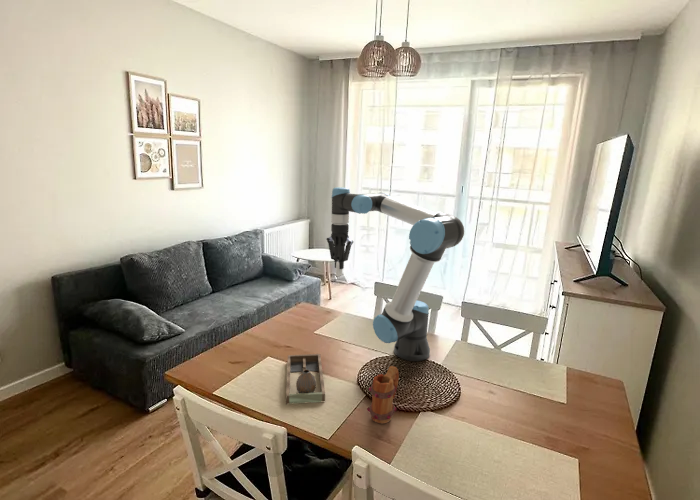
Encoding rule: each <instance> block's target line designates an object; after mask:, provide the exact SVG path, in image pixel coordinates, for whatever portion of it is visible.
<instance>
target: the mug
mask: <svg viewBox="0 0 700 500" xmlns="http://www.w3.org/2000/svg"><path fill="white" fill-rule="evenodd" d="M399 377H400V373H399V369H398V367H396V366H393V365H390V366H389V367H388V369H387V372H386V373H385V374H383V373H379V374H377V375H375V376H374V377H373V379H372V384H371V386H370V387H368V390H369V392H370V393H371V397H372V398H371V401H372V402H371V404H370V405H369V406H368V407H367V408H366V411H367V412H369V413H370V416H371V419H372V421H373V422H375V423H378V424H386V423H389V422H390V421H391V419H393V416H394V415H395V412H396V411H397V407H395V405H394V403H393V402H394V399H395V397H396V393H397V389H398V385H399V380H400V378H399Z"/></svg>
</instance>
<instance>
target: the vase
mask: <svg viewBox="0 0 700 500" xmlns="http://www.w3.org/2000/svg"><path fill="white" fill-rule="evenodd" d="M315 377H316V376H314V375H313V373H311V371H309V370H307V369H306V370H303V372H300V374H299V376H298V377H297V378H296V379H297V380H296V383H295V387H296V391H297V394H299V393H315V392H316V388H317V381H316V378H315Z"/></svg>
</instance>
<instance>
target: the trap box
mask: <svg viewBox="0 0 700 500" xmlns="http://www.w3.org/2000/svg"><path fill="white" fill-rule="evenodd" d="M322 364H323V363H322V358H321V354H320V353H313V354H290V355H289V354H288V355H287V365H286V366H287V367H286V368H287V369H286V371H287V372H286V391H285V393H286V396H285V399H286V401H285V402H286V405H288V404H292V403H293V404H306V403H305V402H311V403H322V402H321V401H325V402H326V389H325V382H324V375H323V374H324V373H323V366H322ZM306 369H307V370H309V371H310V372H318V377H319V385H320V392H318V391H317V392H314V393H290V392H291V390H290V389H291V387H290V386H291V373H302V372H303V370H306ZM293 404H292V405H293Z"/></svg>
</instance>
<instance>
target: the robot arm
mask: <svg viewBox="0 0 700 500" xmlns="http://www.w3.org/2000/svg"><path fill="white" fill-rule="evenodd" d="M331 192H332V193H331V226H330V227H331V230H330V231H331V234H330V236H329V237H326V241H327V244H328V248H329V249H328V250H329V256H330V259H331V260H333V261H334V268H335V276H336V277H341V276H343V269H344V268H345V267H344V266H345V265H344V264H345V263H344V262H347V261H348V259H349V257H350V253H351V249H352V248H351V247H352V245H353V244H354V241H353V240H351V239H350V238H349V237H350V236H349V227H350V226H349V222H350V221H349V219H350V213H354V214H356V213H357V214H369V212H379V213H381V214H384V215H387V216H389V217H392V218H395V219H397V220H400V221H402V222H404V223H407V224H409V225H412V226H411V228H410V230H409V235H408V240H410V241H409V244H410V246H409V250H410V252H411V254H410V256H409V259H408V261H407V263H406V266H405V269H404V271H403V273H402V275H401V278H400V279H399V283H398V285H397V288H396V290H395V292H394V294H393V297H392V299H391V301H388V302H387V303H385V305H384V307H383V310H382V311H381V313H380V314H377V315H376V316H375V317H374V318H373V319H372V329H373V330H374V333H375V336H376V337H377V338H378V340H380V341H381V342H382V343H384V344H391V343H395V344H394V347H393V352H394V355H396V356H397V357H398V358H400V359H402V360H405V361H409V362H419V361H420V362H421V361H424V360H426V359H428V358H429V357H430V354H431V352H430V351H431V349H430V345H429V340H428V337H427V335H428V326H429V325H428V323H429V314H430V311H429V308H430V307H429V305H428V304H427V303H426V302H424V301H421V300H418V299H419V297H420V294H421V292H422V289H423V287H424V286H425V284H426V281H427V279H428V277H429V275H430V272H431V271H432V270H433V269H432V268H433V266H434V264H435V263H438V262H440V261H441V260H442V257H443V256H444V253H445V251H446V250H447V249H450V248H453V247H455V246H457V245H459V244H460V243H461V241H462V240H463V238H464V236H465V228H464V227H465V226H464V224H463V222H462V221H461V220H460V219H459V218H458V217H457V216H454V215H452V214H449V213H445V212H442V211H437V212H434V211H433V210H432V211H431V210H428V209H426V208H423V207H420V206H417V205H415V204H411V203H408V202H405V201H403V200H400V199H397V198H394V197H392V196H391V195H390V194H389V193H387V192H372V193H371V192H370V193H351V191H350V188H348V187H343V186H342V187H334V188H332V191H331Z"/></svg>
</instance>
